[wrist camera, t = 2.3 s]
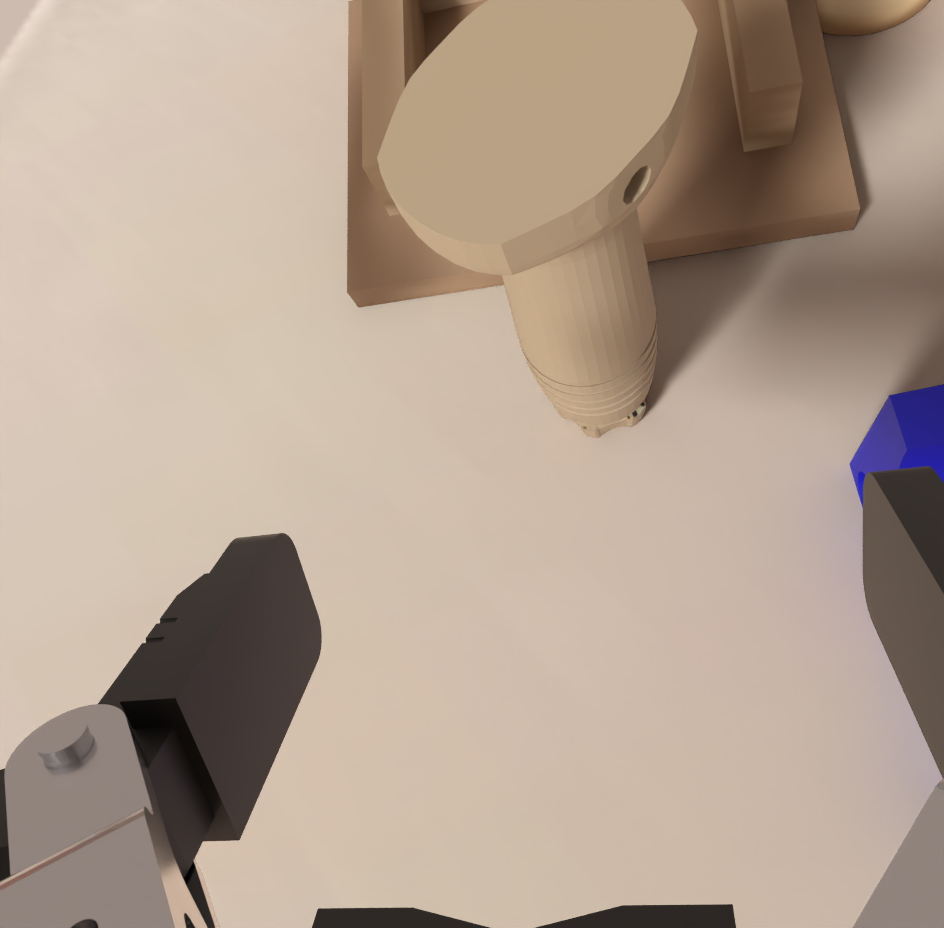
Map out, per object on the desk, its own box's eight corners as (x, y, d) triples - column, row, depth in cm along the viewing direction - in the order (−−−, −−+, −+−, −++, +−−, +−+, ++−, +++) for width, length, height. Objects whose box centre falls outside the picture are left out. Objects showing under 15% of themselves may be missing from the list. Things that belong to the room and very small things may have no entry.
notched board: (788, -76, 34) (802, -182, 30) (853, 229, 30) (879, 151, 26) (358, 23, 38) (320, -60, 34) (358, 307, 33) (315, 249, 29)
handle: (720, 368, 29) (752, 27, 15) (596, 509, 29) (512, 290, 15) (611, 293, 31) (551, -74, 17) (492, 424, 30) (331, 158, 17)
